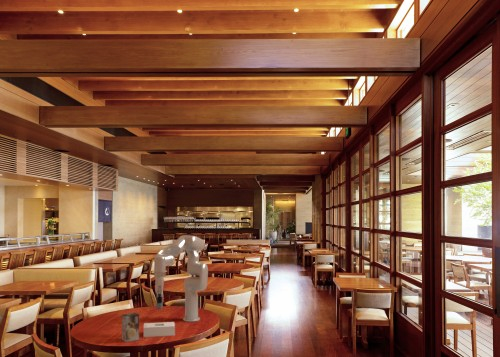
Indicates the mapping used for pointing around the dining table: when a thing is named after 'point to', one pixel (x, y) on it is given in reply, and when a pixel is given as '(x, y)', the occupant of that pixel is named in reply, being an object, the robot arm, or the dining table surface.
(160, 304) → the marker peg
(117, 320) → the dining table surface
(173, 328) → the socket block
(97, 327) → the dining table surface
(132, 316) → the coffee box
